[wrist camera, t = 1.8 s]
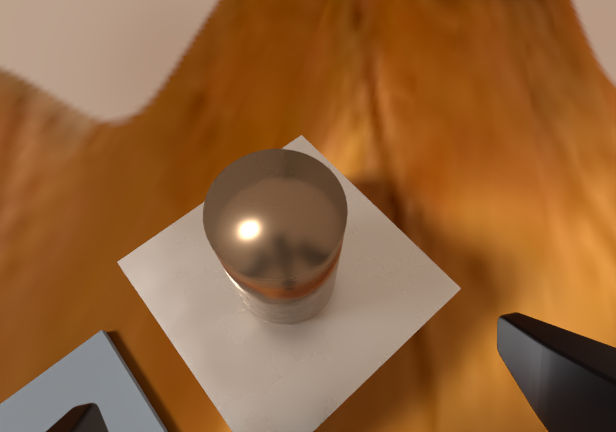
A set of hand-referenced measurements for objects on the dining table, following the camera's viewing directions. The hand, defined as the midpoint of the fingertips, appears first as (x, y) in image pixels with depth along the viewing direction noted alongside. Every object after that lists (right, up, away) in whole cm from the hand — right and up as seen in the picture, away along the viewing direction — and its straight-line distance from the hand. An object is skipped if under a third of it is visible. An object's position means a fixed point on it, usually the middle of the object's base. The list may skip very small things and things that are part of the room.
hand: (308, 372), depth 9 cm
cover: (-1, -1, +12) cm, 12 cm away
